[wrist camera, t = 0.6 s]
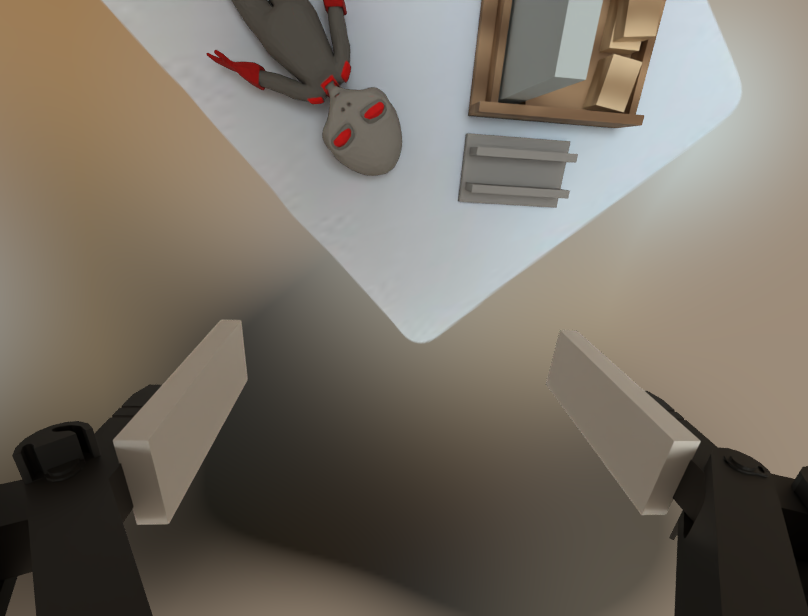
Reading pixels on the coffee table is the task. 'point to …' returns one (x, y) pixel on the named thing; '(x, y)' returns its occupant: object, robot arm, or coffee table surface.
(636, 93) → the rack
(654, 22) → the offcut
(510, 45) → the grey flat slab
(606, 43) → the offcut
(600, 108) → the offcut
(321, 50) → the toy
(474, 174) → the stand
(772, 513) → the robot arm
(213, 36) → the coffee table surface
